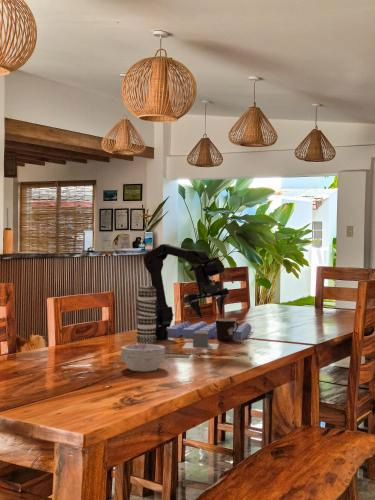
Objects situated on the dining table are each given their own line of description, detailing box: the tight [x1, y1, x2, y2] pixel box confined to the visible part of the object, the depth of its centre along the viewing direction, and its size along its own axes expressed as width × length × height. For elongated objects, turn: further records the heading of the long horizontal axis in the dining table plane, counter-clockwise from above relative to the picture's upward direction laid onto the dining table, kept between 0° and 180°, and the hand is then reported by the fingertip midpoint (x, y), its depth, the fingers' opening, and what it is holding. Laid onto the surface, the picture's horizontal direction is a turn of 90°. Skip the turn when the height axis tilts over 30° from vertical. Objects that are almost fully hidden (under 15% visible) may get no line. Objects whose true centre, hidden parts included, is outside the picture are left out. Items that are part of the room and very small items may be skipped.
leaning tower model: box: [135, 285, 158, 345], centre depth 278 cm, size 9×9×25 cm
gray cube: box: [192, 331, 210, 347], centre depth 269 cm, size 6×6×6 cm
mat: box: [165, 352, 192, 359], centre depth 255 cm, size 11×11×1 cm
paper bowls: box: [120, 343, 166, 373], centre depth 225 cm, size 15×15×8 cm
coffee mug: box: [215, 318, 239, 342], centre depth 287 cm, size 12×9×10 cm
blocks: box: [167, 320, 252, 341], centre depth 312 cm, size 35×34×5 cm
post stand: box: [181, 342, 220, 350], centre depth 269 cm, size 14×14×5 cm
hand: (211, 316), depth 269 cm, fingers open, 9 cm apart
